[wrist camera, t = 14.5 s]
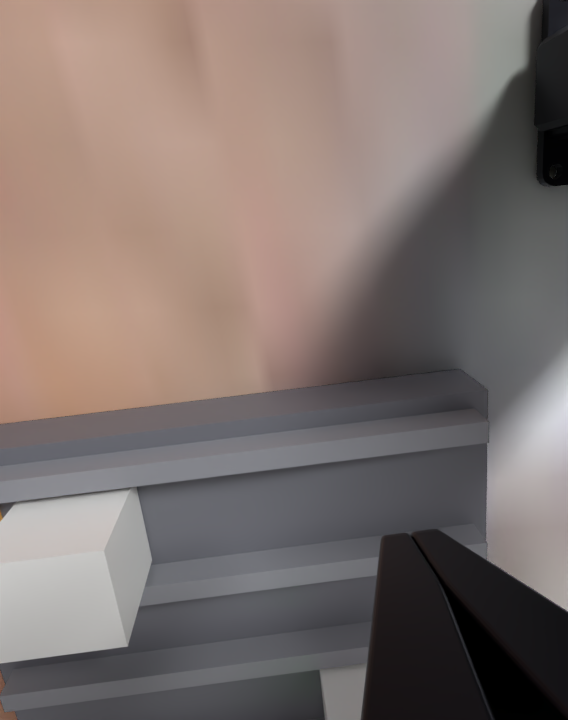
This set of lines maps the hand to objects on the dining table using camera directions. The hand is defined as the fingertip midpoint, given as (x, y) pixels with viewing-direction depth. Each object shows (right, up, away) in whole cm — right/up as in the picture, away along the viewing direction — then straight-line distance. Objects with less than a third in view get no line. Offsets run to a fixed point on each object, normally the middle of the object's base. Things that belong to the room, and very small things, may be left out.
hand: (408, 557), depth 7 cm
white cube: (-9, -3, +11) cm, 15 cm away
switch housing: (-4, -6, +15) cm, 17 cm away
